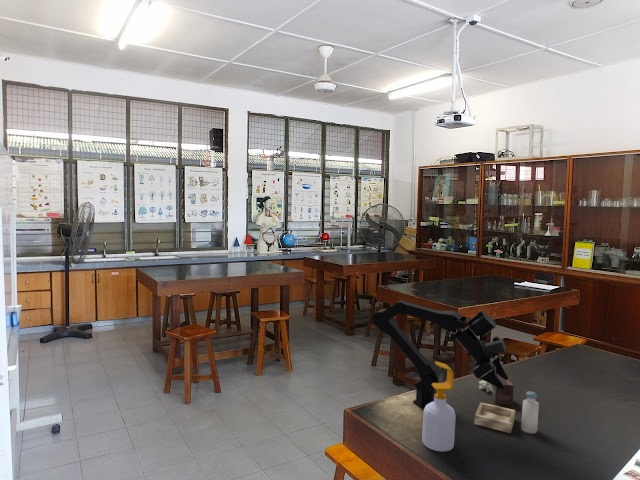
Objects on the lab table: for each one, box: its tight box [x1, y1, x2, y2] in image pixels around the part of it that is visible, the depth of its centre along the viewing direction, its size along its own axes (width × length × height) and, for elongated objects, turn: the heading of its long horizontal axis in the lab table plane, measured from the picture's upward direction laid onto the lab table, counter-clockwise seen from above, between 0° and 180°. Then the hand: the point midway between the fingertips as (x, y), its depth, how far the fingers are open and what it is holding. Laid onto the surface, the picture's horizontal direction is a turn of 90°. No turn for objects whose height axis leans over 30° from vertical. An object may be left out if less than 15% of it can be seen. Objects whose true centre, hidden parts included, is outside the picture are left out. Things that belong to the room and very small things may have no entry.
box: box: [491, 377, 514, 406], centre depth 163 cm, size 6×6×7 cm
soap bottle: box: [421, 360, 457, 453], centre depth 132 cm, size 9×9×25 cm
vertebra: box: [478, 379, 493, 394], centre depth 172 cm, size 6×7×4 cm
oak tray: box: [473, 402, 516, 434], centre depth 148 cm, size 11×11×3 cm
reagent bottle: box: [520, 390, 540, 434], centre depth 142 cm, size 5×5×12 cm
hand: (505, 383), depth 145 cm, fingers open, 9 cm apart
